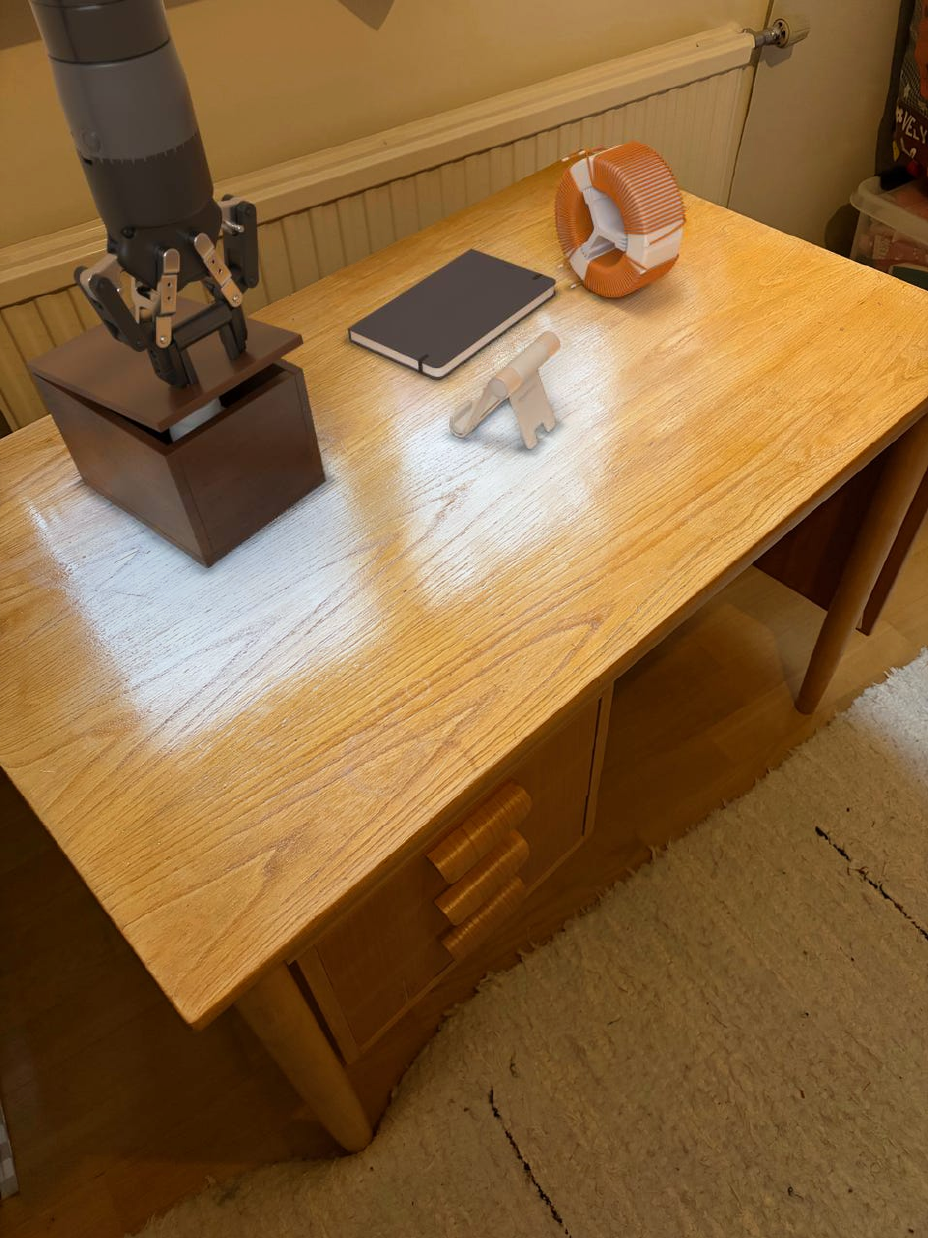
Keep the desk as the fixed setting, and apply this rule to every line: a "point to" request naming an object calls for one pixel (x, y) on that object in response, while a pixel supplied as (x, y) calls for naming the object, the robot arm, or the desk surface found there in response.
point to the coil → (619, 218)
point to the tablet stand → (514, 393)
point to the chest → (200, 461)
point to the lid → (130, 378)
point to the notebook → (453, 313)
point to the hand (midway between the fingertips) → (205, 364)
